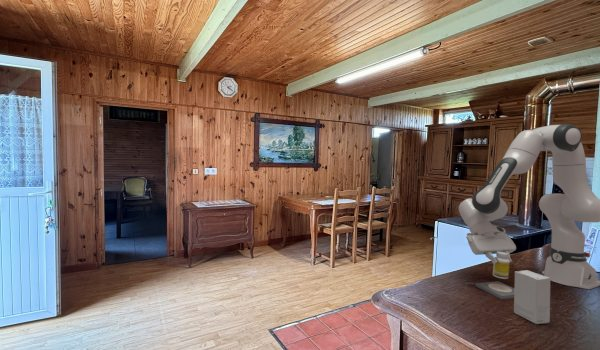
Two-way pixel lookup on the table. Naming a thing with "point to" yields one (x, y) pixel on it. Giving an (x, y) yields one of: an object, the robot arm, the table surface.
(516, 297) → the skincare box
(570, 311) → the table surface
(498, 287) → the board
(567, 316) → the table surface
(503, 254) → the supplement bottle
